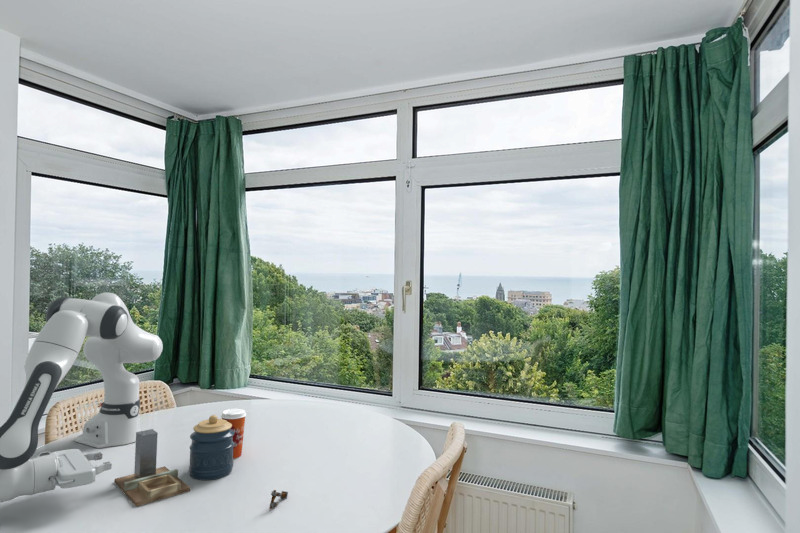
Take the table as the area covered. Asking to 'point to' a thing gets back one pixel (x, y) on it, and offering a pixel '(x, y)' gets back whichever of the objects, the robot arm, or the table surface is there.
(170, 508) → the table surface
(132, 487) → the door board
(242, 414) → the coffee cup
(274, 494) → the wooden post with brackets
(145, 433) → the bar
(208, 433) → the canister
